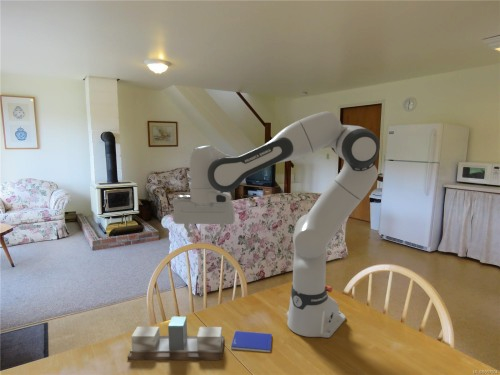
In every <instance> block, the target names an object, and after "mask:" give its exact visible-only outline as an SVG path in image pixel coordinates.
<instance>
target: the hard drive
mask: <svg viewBox="0 0 500 375" xmlns="http://www.w3.org/2000/svg"><path fill="white" fill-rule="evenodd" d="M272 337H273V334H272V333H264V332H253V331H241V330H235V331H234V335H233V339H232V342H231V346H230V350H240V351H252V352H253V351H254V352H266V353H271V349H272Z"/></svg>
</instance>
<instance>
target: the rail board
mask: <svg viewBox="0 0 500 375" xmlns="http://www.w3.org/2000/svg"><path fill="white" fill-rule="evenodd" d="M222 332H223V328H222V326H199V328H198V332H197V335H187V342H186V345H185V348H184V350H169V335H160V334H161V333H160V326H136V329H135V330H134V331H133V333H132V334H131V336H130V337H131V348H130V350H129V352H128V355H127V360H129V361H131V360H140V361H141V360H145V361H146V360H151V361H155V360H156V361H157V360H159V361H163V360H166V361H167V360H168V361H175V360H176V361H221V360H222V358H223V357H222V356H223V350H224V343H225V336H224V335H223V333H222Z"/></svg>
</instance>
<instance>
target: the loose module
mask: <svg viewBox="0 0 500 375" xmlns="http://www.w3.org/2000/svg"><path fill="white" fill-rule="evenodd" d="M187 323H188V321H187V316H171V319H170V321H169V323H168V326H167V328H168V329H167V331H168V332H167V334H168V336H169V350H184V348H185V345H186V342H187V336H188V328H187Z"/></svg>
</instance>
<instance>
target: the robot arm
mask: <svg viewBox="0 0 500 375" xmlns="http://www.w3.org/2000/svg"><path fill="white" fill-rule="evenodd" d="M380 146H381V145H380V140H379V139H378V137H377V135H376V133H374V132H373V131H371V130H370V129H368V128H366V127H363V126H360V125H353V124H347V123H342V122H341V120H340V118H339V117H338V115H336V113H334V112H332V111H328V110H325V111H321V112H317V113H314V114H311V115H308V116H306V117H303V118H302V119H299V120H296V121H294V122H293V123H291V124H289V125H287V126H286V127H284V128H283V129H281V130H280V131H279V132H278V133H277V134H276V135H274V137H273V138H271V140H270V139H269V141H267V142H266V143H264V144H263V145H261V146H259V147H257V148H255V149H252V150H250V151H248V152H246V153H244V154H242V155H239V156H235V155H231V154H227V153H225V152H223V151H221V150H220V149H218V148H217V147H216V146H215V145H210V144H209V145H203V146H199V147H195V148H193V149H192V150H191V153H190V157H189V176H190V184H189V185H190V186H189V193H190V194H189V195H176V196H174V197H173V199H172V207H173V215H172V217H173V218H172V220H173V223H174V224H176V225H178V224H179V225H183V226H184V227H183V228H184V229H185V230H186V232H187V237H188V238H189V237H190V238H192V237H194V230H191V228H190V227H189V226H190V225H219V227H220V228H219V230H216V235H215V237H216V238H222V231H223V230H224V228H225V225H233V224H234V222H235V221H236V214H235V213H236V212H235V206H234V204H233V202H232V200H231V199H232V195H231V193H230V192H232V191H235V189H237V188H238V187H239V186H240V185H241V183H242V182H243V181H244V180H245V179H246V178H248V177H250V176H252V175H254V174H256V173H258V172H259V171H262V170H265V169H267V168H268V167H271V166H273V165H276V164H279V163H284V162H289V161H293V160H298V159H301V158H305V157H308V156H311V155H312V154H314V153H317V152H318V151H321V150H322V149H326V148H330V149H331V150H332V152H334V154H336V155H337V156H338V157H339V158H340V159H341V160H343V165H342V168H341V169H340V172H339V173H338V174H337V175H336V176H335V177H334V179H333V180H332V181H331V182H330V183H329V185H327V187H326V188H325V190H323V192H322V193H321V194H320V196H319V197H318V198H317V200H316V201H315V203H314V204H313V206H312V207H311V208H310V210H309V211H308V213H305V214H304V215H302V216H300V217H299V219H297V221H296V223H295V225H294V226H295V227H294V231H293V234H292V242H293V246H294V250H293V251H294V252H293V266H292V267H293V268H292V285H291V289H290V298H289V305H288V306H289V308H288V310H287V311H286V317H287V322H286V325H287V327H288V328H289V329H290V331H292V332H293V333H295V334H297V335H299V336H304V337H311V338H317V337H319V338H320V337H321V338H326V339H327V338H331V337H332V336H333V334H334V333H335V332H336V331H337V330H338V329H339V327H341V325H342V324H343V322H344V321H345V320H346V316H345V314H344V313H343V312H341V311H340V307H339V306H340V305H339V303H338V302H337V300H335V298H332V297H331V296H330V295H329V294H328V293H332V292H333V287H332V286H330V285H328V284H327V285H326V272H327V271H326V270H327V247H328V246H329V244H330V243H331V241H332V240H333V239H334V237H335V236H336V235H337V233H338V231H339V230H340V229H341V227H342V226H343V223H344V222H345V221H346V220H347V218H348V217H349V216H351V214H352V212H353V211H354V210H355V209H356V208H357V207H358V205H359V204H360V203H361V202H362V201H363V200H364V198H365V197H366V196H367V195H368V194H369V192H370V191H371V188H372V187H373V186H374V184H375V183H376V181H377V179H378V177H379V170H378V169H377V167H376V162H377V157H378V156H379V153H380Z"/></svg>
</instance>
